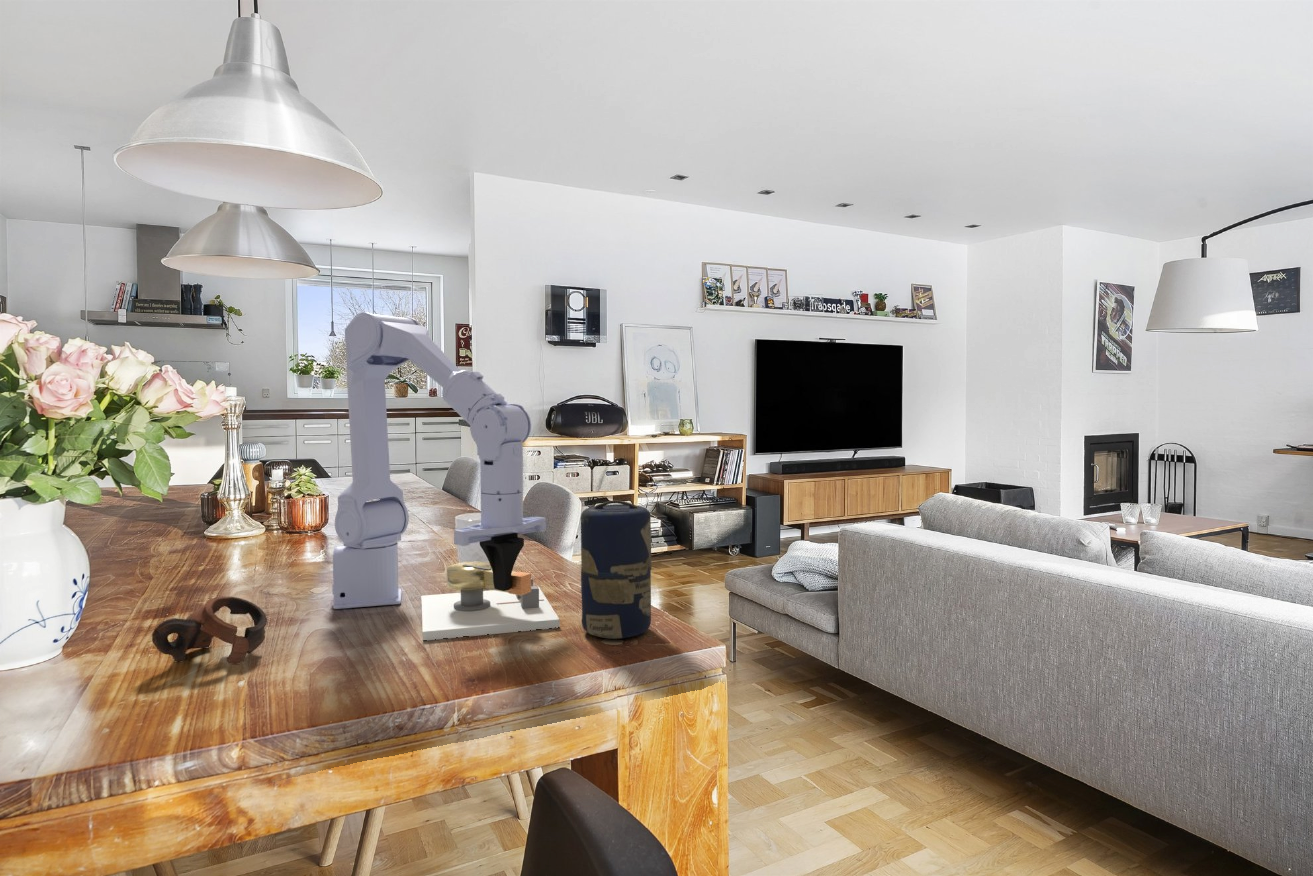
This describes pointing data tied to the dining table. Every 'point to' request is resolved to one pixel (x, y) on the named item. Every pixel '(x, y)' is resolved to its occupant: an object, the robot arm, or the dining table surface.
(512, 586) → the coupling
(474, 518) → the white cup
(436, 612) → the base
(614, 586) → the canister
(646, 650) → the dining table surface
